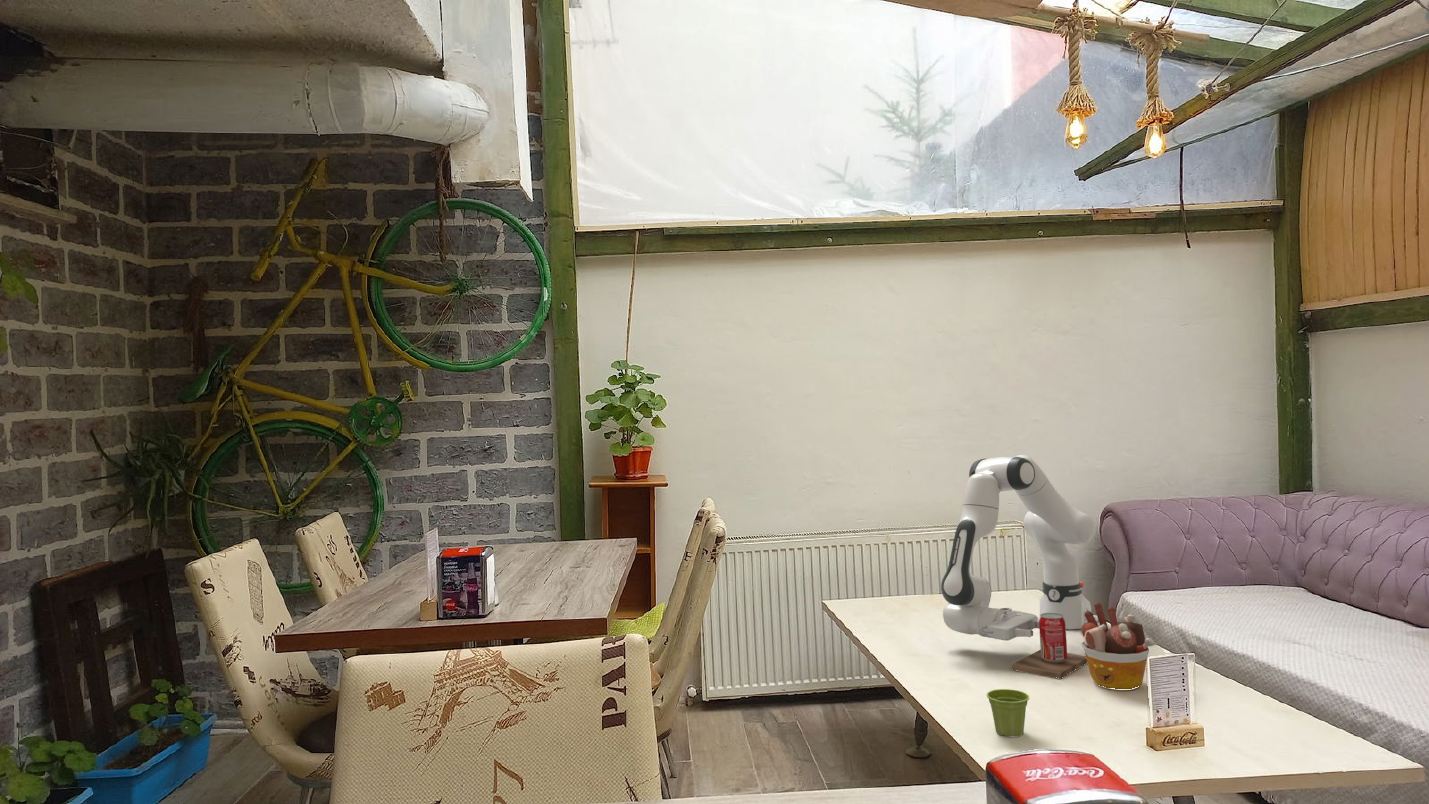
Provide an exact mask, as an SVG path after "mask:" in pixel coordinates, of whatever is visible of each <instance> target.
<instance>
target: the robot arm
mask: <svg viewBox="0 0 1429 804" xmlns="http://www.w3.org/2000/svg"><path fill="white" fill-rule="evenodd" d="M970 466H971V467H970V469H969V472H968V477H969V478H968V480H967V482H966V485H965V488H964V489H965V490H964V493H963V498H962V499H963V500H962V507H961V508H962V509H961V515H960V518H959V519H960V520H959V523H958V525H957V527H956V530H955V531H954V536H953V537H954V538H953V542H952V547H951V551H950V558H949V563H948V566H947V569H946V572H945V574H944V575H943V578H942V579H941V580H942V581H941V583H940V591H941V594H942V597H943V598H944V600H945V601H946V602H947V604H946V605H944V607H943V610H942V618H943V620H944V621H943V622H944V624H945V625H946V626H947V628H948V629H950V630H952V631H954V632H957V633H961V634H965V635H971V636H972V635H979V636H980V637H983V638H991V639H995V640H1001V641H1010V640H1013V639H1015V638H1022V637H1023V638H1024V637H1025V638H1031V637H1033V636H1034V631H1033V630H1034V629H1039V619H1040V617H1041V616H1040V615H1041V614H1043V613H1058V614H1062V615H1063V618H1064V620H1065V625H1066V630H1082V626H1083V624H1084V623H1087V622H1088V621H1087V619H1086V617H1085V612H1086V611H1090V612H1091V613H1092V606H1091V602H1090V601H1089V600H1088V599H1087V598H1086V597H1085V596H1084V595H1083V594H1082V593H1083V591H1082V589H1083V588H1084V586H1085V585H1084V582H1083V581H1079V562H1078V560H1077V558H1076V557H1075V556H1074V554H1072V553H1071V552H1070V551H1069V550H1068V548H1067V546H1066V544H1070V545H1071V544H1072V545H1078V544H1079V545H1080V544H1087V543H1089V542H1091V541H1092V539H1093V538H1094V536H1095V533H1096V524H1095V521H1094V519H1093V518H1092V517H1091V516H1090V515H1088V514H1087V513H1085V512H1083V511H1081V510H1079V509H1078V508H1076V507H1075V506H1073V504H1071V503H1070V502H1069V501H1067V500H1066V499H1065V498H1064V497H1063V496H1062V495H1061V494H1060V493H1059V492H1058V491H1057V489H1056V488H1055V487H1054V485H1053V484H1052V483H1051V481H1050V480H1049V479H1048V477H1047V475H1046V473H1044V471H1043V470H1042V468H1041V467H1040V466H1039V464H1038V463H1037V462H1035V460H1034V459H1032V458H1031V457H1030V456H1029V455H1026V454H1018V455H1015V456H998V457H991V458H981V459H977V460H975V461H973V463H972V464H971V465H970ZM1007 491H1008V492H1009V491H1014V492H1015V493H1016V495H1017V496H1018V497H1019V499H1020V501H1021V502H1022V503H1023V505H1024V506H1025V508H1026V510H1028V511H1027V512H1026V514H1025V516H1024V518H1023V528H1024V531H1025V532H1026V534H1027V535H1028V536H1030V538H1031V539H1032V540H1033V542H1034V543H1035V545H1036V547H1037V548H1038V552H1039V555H1040V557H1041V564H1042V572H1043V576H1042V577H1043V582H1042V585H1041V587H1042V593H1043V594H1042V595H1041V596H1040V597H1039V607H1038V608H1039V609H1038V610H1039V611H1038V615H1035V614H1034V613H1029V612H1025V611H1019V610H1013V609H1012V608H1011V607H1001V608H995V607H989V606H990V602H991V598H992V588H991V585H990V583H989V581H988V580H987V579H986V578H984V577H983V576H979V575H975V574H971V571H970V570H971V565H972V560H973V554H974V549H975V546H976V544H977V542H978V541H979V540H981V539H982V538H984V537H987V536H989V535H990V534H992V532H994V531H995V530H996V527H997V524H998V519H999V511H1000V510H999V509H1000V492H1007ZM1093 616H1094V618H1095V620H1096V622H1097V623H1098V622H1099V621H1098V617H1097V614H1093Z"/></svg>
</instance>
